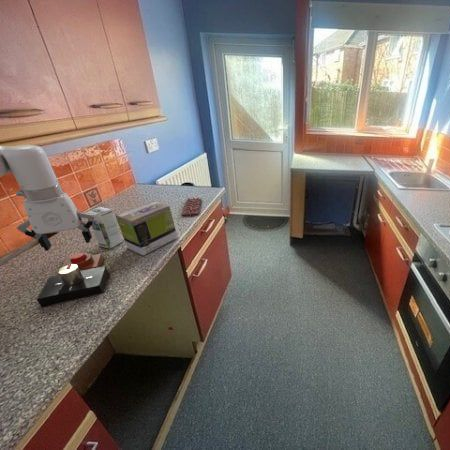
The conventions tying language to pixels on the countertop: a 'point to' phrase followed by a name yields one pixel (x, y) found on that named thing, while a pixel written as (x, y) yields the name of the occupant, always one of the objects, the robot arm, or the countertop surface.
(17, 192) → the robot arm
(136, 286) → the countertop surface
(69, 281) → the hob knob
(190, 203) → the chocolate bar
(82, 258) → the button
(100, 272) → the panel
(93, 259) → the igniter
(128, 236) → the tea box
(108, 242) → the syrup box
